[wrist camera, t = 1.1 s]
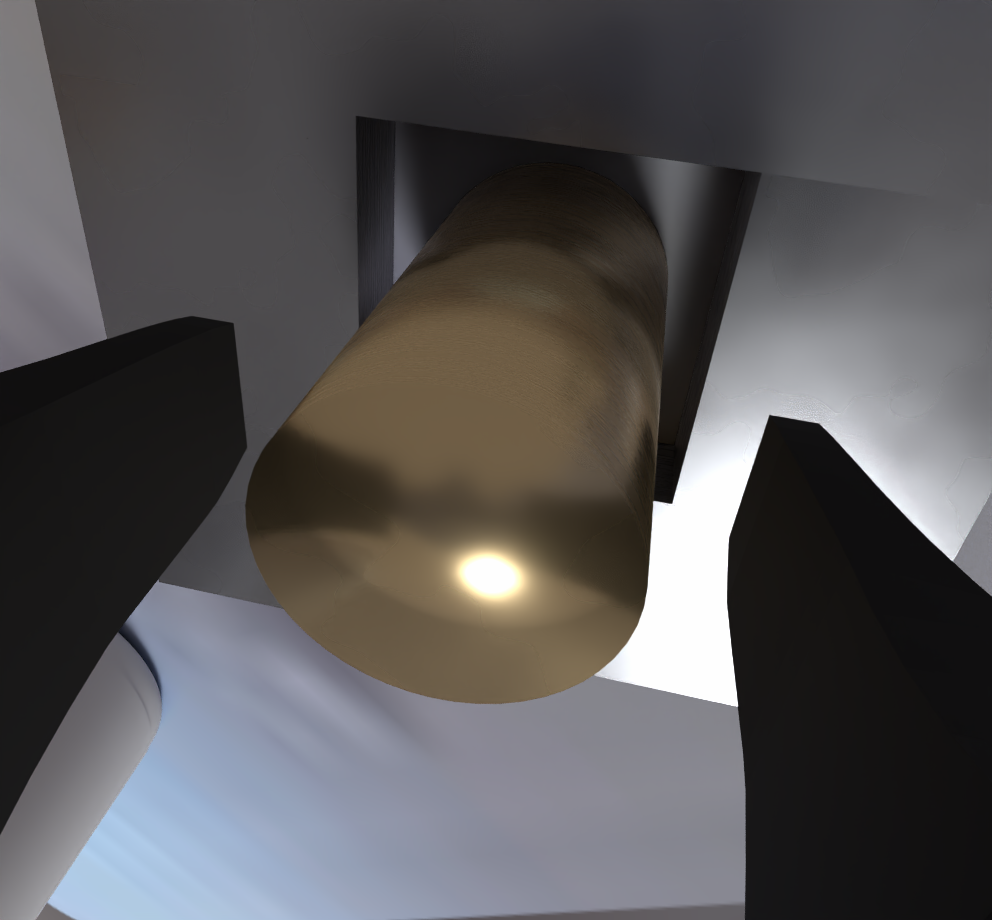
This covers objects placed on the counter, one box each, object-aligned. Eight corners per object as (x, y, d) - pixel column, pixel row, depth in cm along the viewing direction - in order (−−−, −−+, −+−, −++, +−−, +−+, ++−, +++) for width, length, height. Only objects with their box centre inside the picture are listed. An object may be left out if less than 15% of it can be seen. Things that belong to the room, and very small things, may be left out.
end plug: (692, 182, 14) (691, 430, 7) (642, 404, 16) (608, 737, 10) (439, 146, 14) (224, 347, 8) (430, 367, 17) (262, 659, 10)
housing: (1294, -242, 10) (1414, -271, 8) (843, 661, 19) (857, 732, 17) (59, -337, 11) (-47, -379, 10) (201, 528, 21) (159, 581, 19)
